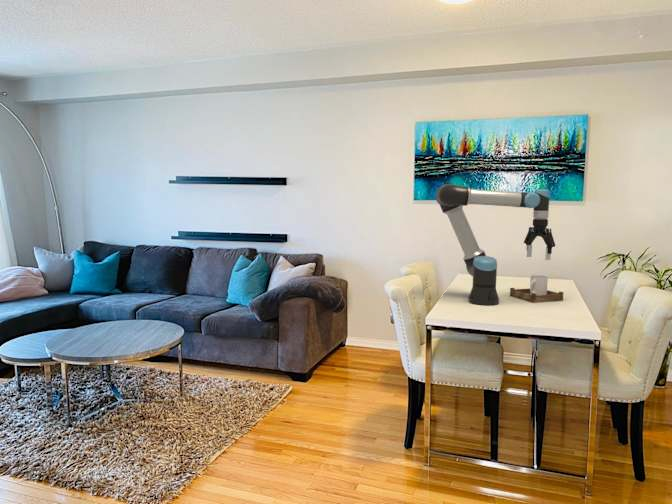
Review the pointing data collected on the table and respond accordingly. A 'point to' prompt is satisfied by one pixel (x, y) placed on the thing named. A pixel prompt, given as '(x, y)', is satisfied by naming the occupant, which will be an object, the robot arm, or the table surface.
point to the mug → (538, 285)
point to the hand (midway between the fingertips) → (538, 258)
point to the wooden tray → (525, 295)
